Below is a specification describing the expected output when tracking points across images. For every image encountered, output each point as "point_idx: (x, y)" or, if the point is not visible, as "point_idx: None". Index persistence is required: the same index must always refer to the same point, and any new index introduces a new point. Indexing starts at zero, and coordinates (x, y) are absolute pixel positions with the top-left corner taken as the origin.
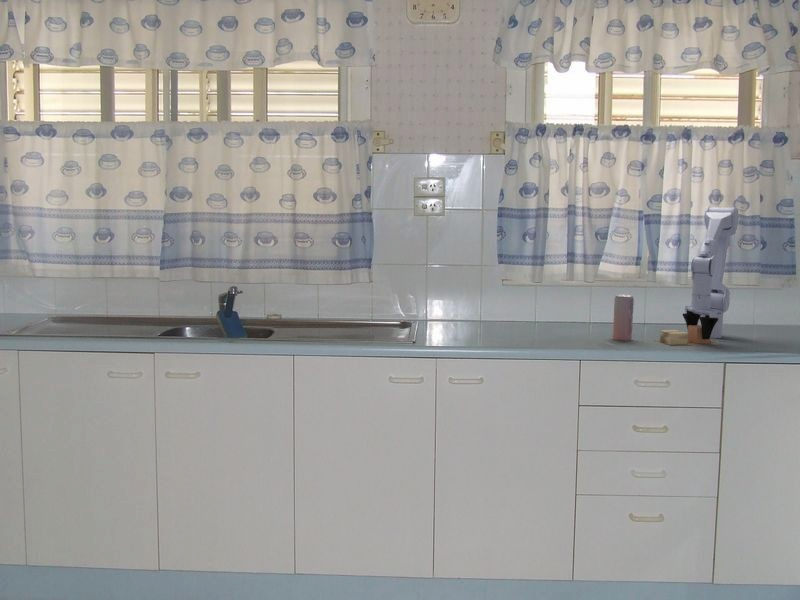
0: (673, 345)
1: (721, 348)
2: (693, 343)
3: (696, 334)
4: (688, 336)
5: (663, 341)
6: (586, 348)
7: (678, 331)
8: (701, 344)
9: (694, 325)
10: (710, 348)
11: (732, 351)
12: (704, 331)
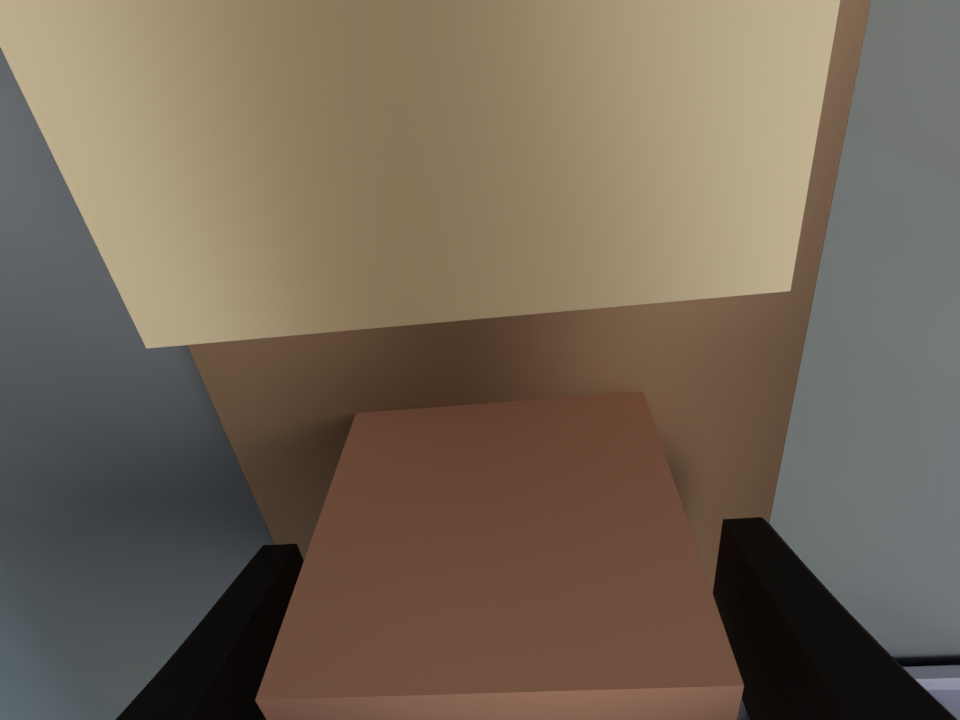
0: None
1: (217, 589)
2: (350, 370)
3: (322, 540)
4: (625, 453)
5: None
6: None
7: (473, 185)
8: (263, 447)
9: None
10: (184, 483)
11: (28, 604)
12: (159, 692)
